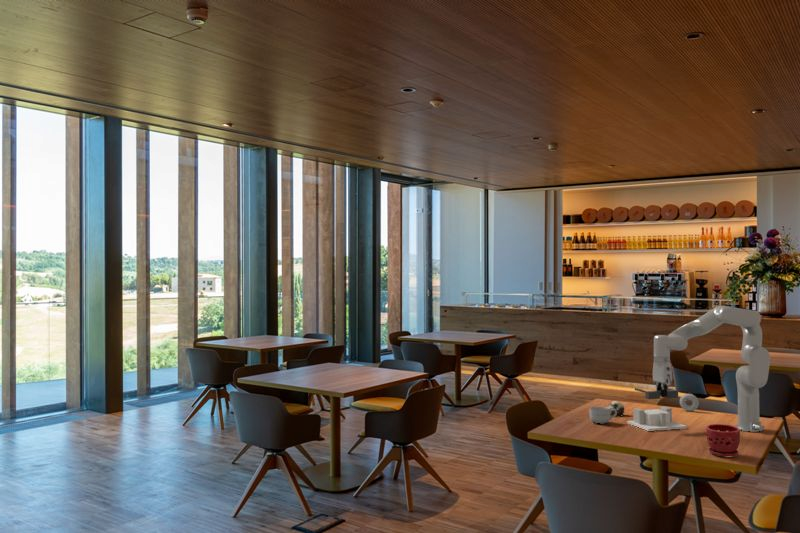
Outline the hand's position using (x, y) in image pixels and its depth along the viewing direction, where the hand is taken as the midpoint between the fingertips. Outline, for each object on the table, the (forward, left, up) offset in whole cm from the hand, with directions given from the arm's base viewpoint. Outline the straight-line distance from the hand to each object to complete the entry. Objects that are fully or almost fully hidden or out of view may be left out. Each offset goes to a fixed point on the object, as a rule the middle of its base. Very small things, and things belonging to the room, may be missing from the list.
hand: (661, 395), depth 330 cm
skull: (+35, +5, -17) cm, 39 cm away
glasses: (+4, 0, -1) cm, 5 cm away
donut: (+31, -40, -17) cm, 53 cm away
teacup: (+19, +22, -17) cm, 33 cm away
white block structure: (+6, 0, -16) cm, 18 cm away
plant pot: (-48, +5, -17) cm, 51 cm away
